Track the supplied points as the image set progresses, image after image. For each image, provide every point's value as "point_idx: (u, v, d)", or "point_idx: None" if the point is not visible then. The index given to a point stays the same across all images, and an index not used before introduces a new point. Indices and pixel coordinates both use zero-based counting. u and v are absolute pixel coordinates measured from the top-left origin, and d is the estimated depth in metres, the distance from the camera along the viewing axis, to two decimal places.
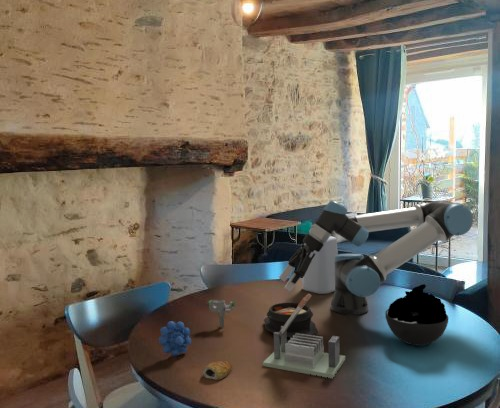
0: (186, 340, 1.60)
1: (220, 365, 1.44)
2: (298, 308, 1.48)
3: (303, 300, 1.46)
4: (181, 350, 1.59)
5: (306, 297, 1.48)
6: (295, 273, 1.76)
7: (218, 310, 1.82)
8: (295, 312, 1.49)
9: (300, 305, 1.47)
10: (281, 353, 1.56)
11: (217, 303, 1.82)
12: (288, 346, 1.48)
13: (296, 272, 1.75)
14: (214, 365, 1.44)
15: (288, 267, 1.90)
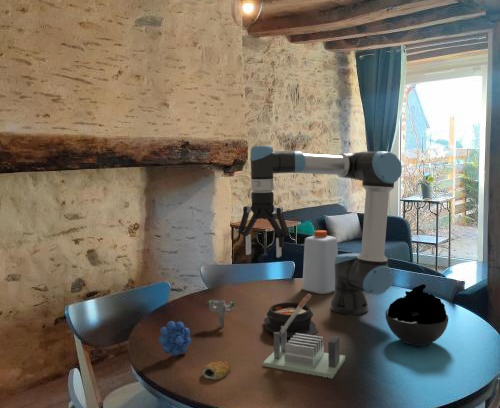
0: (186, 340, 1.60)
1: (219, 365, 1.44)
2: (298, 308, 1.48)
3: (303, 300, 1.46)
4: (181, 350, 1.59)
5: (306, 297, 1.48)
6: (280, 238, 1.63)
7: (218, 310, 1.82)
8: (295, 312, 1.49)
9: (300, 305, 1.47)
10: (281, 353, 1.56)
11: (217, 303, 1.82)
12: (288, 346, 1.48)
13: (281, 236, 1.62)
14: (213, 365, 1.44)
15: (248, 238, 1.69)
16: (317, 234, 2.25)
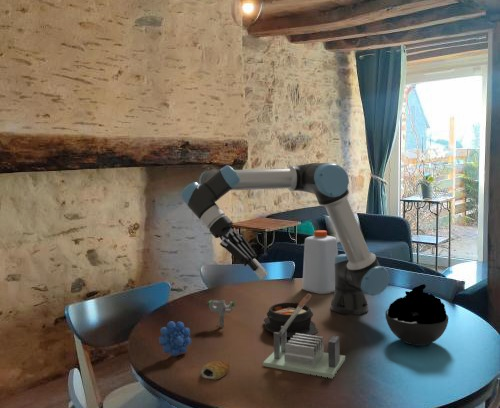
0: (186, 340, 1.60)
1: (218, 365, 1.44)
2: (298, 308, 1.48)
3: (303, 300, 1.46)
4: (181, 350, 1.59)
5: (306, 297, 1.48)
6: None
7: (218, 310, 1.82)
8: (295, 312, 1.49)
9: (300, 305, 1.47)
10: (281, 353, 1.56)
11: (217, 303, 1.82)
12: (288, 346, 1.48)
13: (245, 264, 1.55)
14: (212, 365, 1.44)
15: None
16: (317, 234, 2.25)
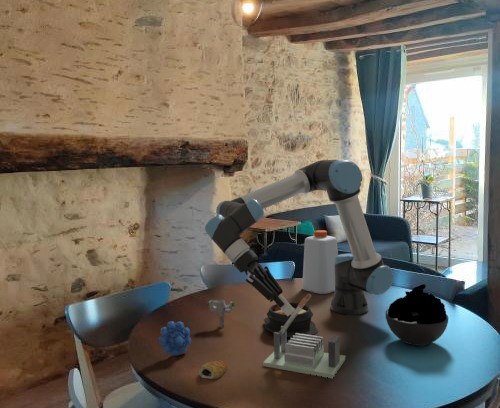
0: (186, 340, 1.60)
1: (216, 365, 1.44)
2: (298, 308, 1.48)
3: (303, 300, 1.46)
4: (181, 350, 1.59)
5: (306, 297, 1.48)
6: None
7: (218, 310, 1.82)
8: (295, 312, 1.49)
9: (300, 305, 1.47)
10: (281, 353, 1.56)
11: (217, 303, 1.82)
12: (288, 346, 1.48)
13: (271, 300, 1.51)
14: (210, 365, 1.44)
15: None
16: (317, 234, 2.25)
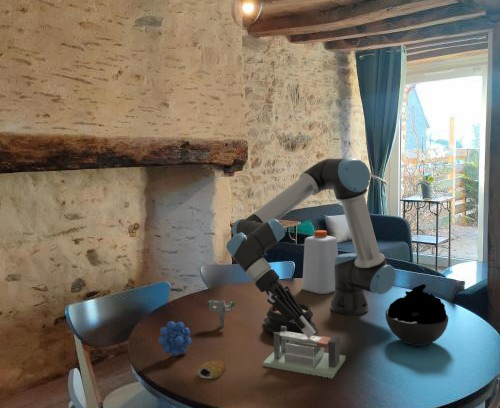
0: (186, 340, 1.60)
1: (214, 364, 1.44)
2: (315, 343, 1.47)
3: (325, 345, 1.45)
4: (181, 350, 1.59)
5: None
6: (293, 321, 1.50)
7: (218, 310, 1.82)
8: (309, 342, 1.48)
9: (319, 345, 1.46)
10: (281, 353, 1.56)
11: (217, 303, 1.82)
12: (288, 346, 1.48)
13: (292, 321, 1.49)
14: (209, 365, 1.44)
15: None
16: (317, 234, 2.25)
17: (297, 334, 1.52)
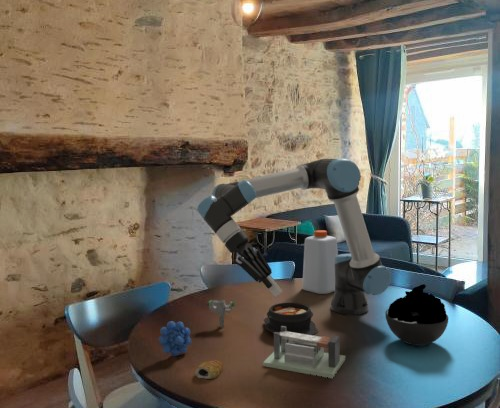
0: (186, 340, 1.60)
1: (212, 364, 1.44)
2: (315, 343, 1.47)
3: (325, 345, 1.45)
4: (181, 350, 1.59)
5: None
6: None
7: (218, 310, 1.82)
8: (309, 342, 1.48)
9: (319, 345, 1.46)
10: (281, 353, 1.56)
11: (217, 303, 1.82)
12: (288, 346, 1.48)
13: (260, 281, 1.55)
14: (206, 365, 1.44)
15: None
16: (317, 234, 2.25)
17: (297, 334, 1.52)
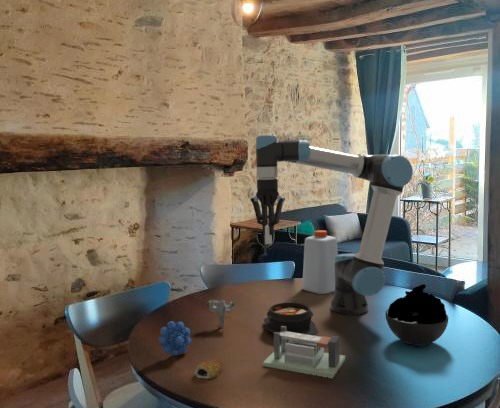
0: (186, 340, 1.60)
1: (211, 364, 1.45)
2: (315, 343, 1.47)
3: (325, 345, 1.45)
4: (181, 350, 1.59)
5: None
6: None
7: (218, 310, 1.82)
8: (309, 342, 1.48)
9: (319, 345, 1.46)
10: (281, 353, 1.56)
11: (217, 303, 1.82)
12: (288, 346, 1.48)
13: None
14: (205, 365, 1.44)
15: None
16: (317, 234, 2.25)
17: (297, 334, 1.52)
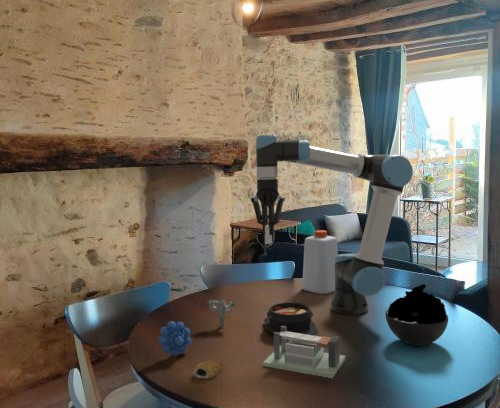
0: (186, 340, 1.60)
1: (211, 364, 1.45)
2: (315, 343, 1.47)
3: (325, 345, 1.45)
4: (181, 350, 1.59)
5: None
6: (266, 224, 1.78)
7: (218, 310, 1.82)
8: (309, 342, 1.48)
9: (319, 345, 1.46)
10: (281, 353, 1.56)
11: (217, 303, 1.82)
12: (288, 346, 1.48)
13: None
14: (205, 364, 1.44)
15: None
16: (317, 234, 2.25)
17: (297, 334, 1.52)
